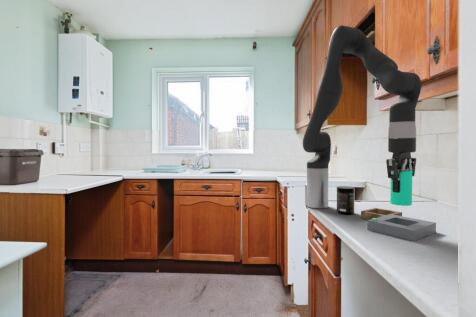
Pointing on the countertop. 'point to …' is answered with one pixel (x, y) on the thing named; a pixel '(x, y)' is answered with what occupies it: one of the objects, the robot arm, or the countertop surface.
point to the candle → (403, 190)
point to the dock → (402, 227)
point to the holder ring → (377, 213)
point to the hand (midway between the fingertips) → (401, 191)
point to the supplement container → (345, 200)
